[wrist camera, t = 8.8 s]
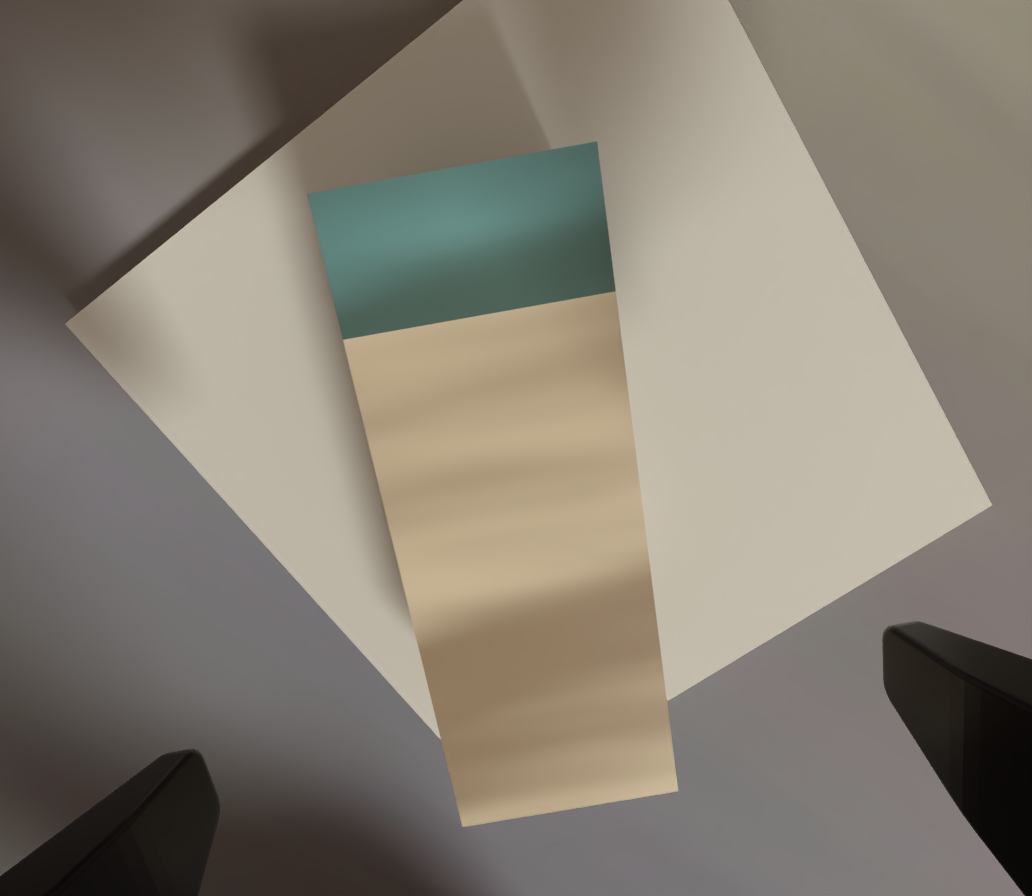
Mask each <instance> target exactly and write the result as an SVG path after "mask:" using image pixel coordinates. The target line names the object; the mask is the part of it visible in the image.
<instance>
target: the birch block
mask: <svg viewBox="0 0 1032 896" xmlns="http://www.w3.org/2000/svg"><path fill="white" fill-rule="evenodd" d="M307 196H308V200H309V204H310V208H311V212H312V216H313V220H314V224H315V228H316V232H317V236H318V240H319V244H320V249H321V253H322V257H323V261H324V265H325V269H326V273H327V277H328V281H329V285H330V289H331V293H332V297H333V301H334V306H335V310H336V314H337V318H338V322H339V326H340V330H341V334H342V338H343V342H344V346H345V350H346V354H347V358H348V363H349V367H350V371H351V375H352V379H353V383H354V387H355V391H356V395H357V399H358V403H359V407H360V411H361V415H362V420H363V424H364V428H365V432H366V436H367V440H368V444H369V448H370V452H371V456H372V460H373V464H374V468H375V472H376V477H377V481H378V485H379V489H380V493H381V497H382V501H383V505H384V509H385V513H386V517H387V521H388V525H389V529H390V534H391V538H392V542H393V546H394V550H395V554H396V558H397V562H398V566H399V570H400V574H401V578H402V582H403V586H404V591H405V595H406V599H407V603H408V607H409V611H410V615H411V619H412V623H413V627H414V631H415V635H416V639H417V643H418V648H419V652H420V656H421V660H422V664H423V668H424V672H425V676H426V680H427V684H428V688H429V692H430V696H431V700H432V705H433V709H434V713H435V717H436V721H437V725H438V729H439V733H440V737H441V741H442V745H443V749H444V753H445V757H446V762H447V766H448V770H449V774H450V778H451V782H452V786H453V790H454V794H455V798H456V802H457V806H458V810H459V814H460V819H461V823H462V827H466V826H472V825H478V824H484V823H490V822H496V821H502V820H508V819H514V818H520V817H526V816H532V815H538V814H544V813H550V812H556V811H562V810H568V809H574V808H580V807H586V806H592V805H598V804H604V803H610V802H616V801H622V800H628V799H634V798H640V797H646V796H652V795H658V794H664V793H670V792H676V791H678V786H677V778H676V770H675V762H674V754H673V746H672V738H671V730H670V722H669V714H668V706H667V698H666V690H665V682H664V674H663V666H662V658H661V650H660V642H659V634H658V626H657V618H656V610H655V602H654V594H653V586H652V578H651V570H650V562H649V554H648V546H647V538H646V529H645V521H644V513H643V505H642V497H641V489H640V481H639V473H638V465H637V457H636V449H635V441H634V433H633V425H632V417H631V409H630V401H629V393H628V385H627V377H626V369H625V361H624V353H623V345H622V337H621V329H620V321H619V313H618V305H617V297H616V289H615V281H614V273H613V265H612V257H611V249H610V241H609V233H608V225H607V217H606V209H605V200H604V192H603V184H602V176H601V168H600V160H599V152H598V144H597V141H596V142H591V143H585V144H580V145H574V146H569V147H563V148H558V149H552V150H546V151H541V152H535V153H530V154H524V155H519V156H513V157H508V158H502V159H497V160H491V161H486V162H480V163H475V164H469V165H464V166H458V167H453V168H447V169H442V170H436V171H431V172H425V173H420V174H414V175H409V176H403V177H398V178H392V179H387V180H381V181H376V182H370V183H365V184H359V185H353V186H348V187H342V188H337V189H331V190H326V191H320V192H315V193H309V194H307Z"/></svg>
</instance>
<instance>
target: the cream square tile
mask: <svg viewBox="0 0 1032 896" xmlns="http://www.w3.org/2000/svg"><path fill="white" fill-rule="evenodd" d="M596 141H597V144H598V152H599V160H600V168H601V176H602V184H603V192H604V200H605V209H606V217H607V225H608V233H609V241H610V249H611V257H612V265H613V273H614V281H615V289H616V297H617V305H618V313H619V321H620V329H621V337H622V345H623V353H624V361H625V369H626V377H627V385H628V393H629V401H630V409H631V417H632V425H633V433H634V441H635V449H636V457H637V465H638V473H639V481H640V489H641V497H642V505H643V513H644V521H645V529H646V538H647V546H648V554H649V562H650V570H651V578H652V586H653V594H654V602H655V610H656V618H657V626H658V634H659V642H660V650H661V658H662V666H663V674H664V682H665V690H666V698H667V701H668V700H670V699H672V698H673V697H675V696H677V695H678V694H680V693H682V692H683V691H685V690H687V689H688V688H690V687H691V686H693V685H695V684H696V683H698V682H700V681H701V680H703V679H705V678H706V677H708V676H710V675H711V674H713V673H715V672H716V671H718V670H720V669H721V668H723V667H725V666H726V665H728V664H730V663H731V662H733V661H735V660H736V659H738V658H740V657H741V656H743V655H745V654H746V653H748V652H750V651H751V650H753V649H755V648H756V647H758V646H760V645H761V644H763V643H764V642H766V641H768V640H769V639H771V638H773V637H774V636H776V635H778V634H779V633H781V632H783V631H784V630H786V629H788V628H789V627H791V626H793V625H794V624H796V623H798V622H799V621H801V620H803V619H804V618H806V617H808V616H809V615H811V614H813V613H814V612H816V611H818V610H819V609H821V608H823V607H824V606H826V605H828V604H829V603H831V602H832V601H834V600H836V599H837V598H839V597H841V596H842V595H844V594H846V593H847V592H849V591H851V590H852V589H854V588H856V587H857V586H859V585H861V584H862V583H864V582H866V581H867V580H869V579H871V578H872V577H874V576H876V575H877V574H879V573H881V572H882V571H884V570H886V569H887V568H889V567H891V566H892V565H894V564H896V563H897V562H899V561H900V560H902V559H904V558H905V557H907V556H909V555H910V554H912V553H914V552H915V551H917V550H919V549H920V548H922V547H924V546H925V545H927V544H929V543H930V542H932V541H934V540H935V539H937V538H939V537H940V536H942V535H944V534H945V533H947V532H949V531H950V530H952V529H954V528H955V527H957V526H959V525H960V524H962V523H964V522H965V521H967V520H968V519H970V518H972V517H973V516H975V515H977V514H978V513H980V512H982V511H983V510H985V509H987V508H988V507H990V506H992V504H991V502H990V500H989V498H988V496H987V494H986V492H985V491H984V489H983V487H982V485H981V483H980V481H979V479H978V477H977V475H976V473H975V471H974V470H973V468H972V466H971V464H970V462H969V460H968V458H967V456H966V454H965V452H964V450H963V448H962V447H961V445H960V443H959V441H958V439H957V437H956V435H955V433H954V431H953V429H952V427H951V425H950V424H949V422H948V420H947V418H946V416H945V414H944V412H943V410H942V408H941V406H940V404H939V403H938V401H937V399H936V397H935V395H934V393H933V391H932V389H931V387H930V385H929V383H928V381H927V380H926V378H925V376H924V374H923V372H922V370H921V368H920V366H919V364H918V362H917V360H916V358H915V357H914V355H913V353H912V351H911V349H910V347H909V345H908V343H907V341H906V339H905V337H904V335H903V334H902V332H901V330H900V328H899V326H898V324H897V322H896V320H895V318H894V316H893V314H892V313H891V311H890V309H889V307H888V305H887V303H886V301H885V299H884V297H883V295H882V293H881V291H880V290H879V288H878V286H877V284H876V282H875V280H874V278H873V276H872V274H871V272H870V270H869V268H868V267H867V265H866V263H865V261H864V259H863V257H862V255H861V253H860V251H859V249H858V247H857V246H856V244H855V242H854V240H853V238H852V236H851V234H850V232H849V230H848V228H847V226H846V224H845V223H844V221H843V219H842V217H841V215H840V213H839V211H838V209H837V207H836V205H835V203H834V201H833V200H832V198H831V196H830V194H829V192H828V190H827V188H826V186H825V184H824V182H823V180H822V179H821V177H820V175H819V173H818V171H817V169H816V167H815V165H814V163H813V161H812V159H811V157H810V156H809V154H808V152H807V150H806V148H805V146H804V144H803V142H802V140H801V138H800V136H799V134H798V133H797V131H796V129H795V127H794V125H793V123H792V121H791V119H790V117H789V115H788V113H787V111H786V110H785V108H784V106H783V104H782V102H781V100H780V98H779V96H778V94H777V92H776V90H775V89H774V87H773V85H772V83H771V81H770V79H769V77H768V75H767V73H766V71H765V69H764V67H763V66H762V64H761V62H760V60H759V58H758V56H757V54H756V52H755V50H754V48H753V46H752V44H751V43H750V41H749V39H748V37H747V35H746V33H745V31H744V29H743V27H742V25H741V23H740V22H739V20H738V18H737V16H736V14H735V12H734V10H733V8H732V6H731V4H730V2H729V0H463V1H461V2H460V3H459V4H458V5H456V6H455V7H454V8H453V9H452V10H450V11H449V12H448V13H447V14H445V15H444V16H443V17H442V18H440V19H439V20H438V21H437V22H436V23H434V24H433V25H432V26H431V27H429V28H428V29H427V30H426V31H424V32H423V33H422V34H421V35H420V36H418V37H417V38H416V39H415V40H413V41H412V42H411V43H410V44H408V45H407V46H406V47H405V48H404V49H402V50H401V51H400V52H399V53H397V54H396V55H395V56H394V57H392V58H391V59H390V60H389V61H388V62H386V63H385V64H384V65H383V66H381V67H380V68H379V69H378V70H377V71H375V72H374V73H373V74H372V75H370V76H369V77H368V78H367V79H365V80H364V81H363V82H362V83H361V84H359V85H358V86H357V87H356V88H354V89H353V90H352V91H351V92H349V93H348V94H347V95H346V96H345V97H343V98H342V99H341V100H340V101H338V102H337V103H336V104H335V105H333V106H332V107H331V108H330V109H329V110H327V111H326V112H325V113H324V114H322V115H321V116H320V117H319V118H317V119H316V120H315V121H314V122H313V123H311V124H310V125H309V126H308V127H306V128H305V129H304V130H303V131H301V132H300V133H299V134H298V135H297V136H295V137H294V138H293V139H292V140H290V141H289V142H288V143H287V144H285V145H284V146H283V147H282V148H281V149H279V150H278V151H277V152H276V153H274V154H273V155H272V156H271V157H269V158H268V159H267V160H266V161H265V162H263V163H262V164H261V165H260V166H258V167H257V168H256V169H255V170H254V171H252V172H251V173H250V174H249V175H247V176H246V177H245V178H244V179H242V180H241V181H240V182H239V183H238V184H236V185H235V186H234V187H233V188H231V189H230V190H229V191H228V192H226V193H225V194H224V195H223V196H222V197H220V198H219V199H218V200H217V201H215V202H214V203H213V204H212V205H210V206H209V207H208V208H207V209H206V210H204V211H203V212H202V213H201V214H199V215H198V216H197V217H196V218H194V219H193V220H192V221H191V222H190V223H188V224H187V225H186V226H185V227H183V228H182V229H181V230H180V231H178V232H177V233H176V234H175V235H174V236H172V237H171V238H170V239H169V240H167V241H166V242H165V243H164V244H162V245H161V246H160V247H159V248H158V249H156V250H155V251H154V252H153V253H151V254H150V255H149V256H148V257H146V258H145V259H144V260H143V261H142V262H140V263H139V264H138V265H137V266H135V267H134V268H133V269H132V270H131V271H129V272H128V273H127V274H126V275H124V276H123V277H122V278H121V279H119V280H118V281H117V282H116V283H115V284H113V285H112V286H111V287H110V288H108V289H107V290H106V291H105V292H103V293H102V294H101V295H100V296H99V297H97V298H96V299H95V300H94V301H92V302H91V303H90V304H89V305H87V306H86V307H85V308H84V309H83V310H81V311H80V312H79V313H78V314H76V315H75V316H74V317H73V318H71V319H70V320H69V321H68V322H67V323H65V325H66V326H67V327H68V328H69V329H70V330H71V331H72V332H73V334H74V335H75V336H76V337H77V338H78V339H79V340H80V341H81V342H82V343H83V345H84V346H85V347H86V348H87V349H88V350H89V351H90V352H91V353H92V355H93V356H94V357H95V358H96V359H97V360H98V361H99V362H100V363H101V364H102V366H103V367H104V368H105V369H106V370H107V371H108V372H109V373H110V374H111V376H112V377H113V378H114V379H115V380H116V381H117V382H118V383H119V384H120V386H121V387H122V388H123V389H124V390H125V391H126V392H127V393H128V394H129V395H130V397H131V398H132V399H133V400H134V401H135V402H136V403H137V404H138V405H139V407H140V408H141V409H142V410H143V411H144V412H145V413H146V414H147V415H148V416H149V418H150V419H151V420H152V421H153V422H154V423H155V424H156V425H157V426H158V428H159V429H160V430H161V431H162V432H163V433H164V434H165V435H166V436H167V437H168V439H169V440H170V441H171V442H172V443H173V444H174V445H175V446H176V447H177V449H178V450H179V451H180V452H181V453H182V454H183V455H184V456H185V457H186V459H187V460H188V461H189V462H190V463H191V464H192V465H193V466H194V467H195V468H196V470H197V471H198V472H199V473H200V474H201V475H202V476H203V477H204V478H205V480H206V481H207V482H208V483H209V484H210V485H211V486H212V487H213V488H214V489H215V491H216V492H217V493H218V494H219V495H220V496H221V497H222V498H223V499H224V501H225V502H226V503H227V504H228V505H229V506H230V507H231V508H232V509H233V510H234V512H235V513H236V514H237V515H238V516H239V517H240V518H241V519H242V520H243V522H244V523H245V524H246V525H247V526H248V527H249V528H250V529H251V530H252V532H253V533H254V534H255V535H256V536H257V537H258V538H259V539H260V540H261V541H262V543H263V544H264V545H265V546H266V547H267V548H268V549H269V550H270V551H271V553H272V554H273V555H274V556H275V557H276V558H277V559H278V560H279V561H280V562H281V564H282V565H283V566H284V567H285V568H286V569H287V570H288V571H289V572H290V574H291V575H292V576H293V577H294V578H295V579H296V580H297V581H298V582H299V584H300V585H301V586H302V587H303V588H304V589H305V590H306V591H307V592H308V593H309V595H310V596H311V597H312V598H313V599H314V600H315V601H316V602H317V603H318V605H319V606H320V607H321V608H322V609H323V610H324V611H325V612H326V613H327V614H328V616H329V617H330V618H331V619H332V620H333V621H334V622H335V623H336V624H337V626H338V627H339V628H340V629H341V630H342V631H343V632H344V633H345V634H346V635H347V637H348V638H349V639H350V640H351V641H352V642H353V643H354V644H355V645H356V647H357V648H358V649H359V650H360V651H361V652H362V653H363V654H364V655H365V657H366V658H367V659H368V660H369V661H370V662H371V663H372V664H373V665H374V666H375V668H376V669H377V670H378V671H379V672H380V673H381V674H382V675H383V676H384V678H385V679H386V680H387V681H388V682H389V683H390V684H391V685H392V686H393V687H394V689H395V690H396V691H397V692H398V693H399V694H400V695H401V696H402V697H403V699H404V700H405V701H406V702H407V703H408V704H409V705H410V706H411V707H412V709H413V710H414V711H415V712H416V713H417V714H418V715H419V716H420V717H421V718H422V720H423V721H424V722H425V723H426V724H427V725H428V726H429V727H430V728H431V730H432V731H433V732H434V733H435V734H436V735H437V736H438V737H439V738H440V739H441V737H440V733H439V729H438V725H437V721H436V717H435V713H434V709H433V705H432V700H431V696H430V692H429V688H428V684H427V680H426V676H425V672H424V668H423V664H422V660H421V656H420V652H419V648H418V643H417V639H416V635H415V631H414V627H413V623H412V619H411V615H410V611H409V607H408V603H407V599H406V595H405V591H404V586H403V582H402V578H401V574H400V570H399V566H398V562H397V558H396V554H395V550H394V546H393V542H392V538H391V534H390V529H389V525H388V521H387V517H386V513H385V509H384V505H383V501H382V497H381V493H380V489H379V485H378V481H377V477H376V472H375V468H374V464H373V460H372V456H371V452H370V448H369V444H368V440H367V436H366V432H365V428H364V424H363V420H362V415H361V411H360V407H359V403H358V399H357V395H356V391H355V387H354V383H353V379H352V375H351V371H350V367H349V363H348V358H347V354H346V350H345V346H344V342H343V338H342V334H341V330H340V326H339V322H338V318H337V314H336V310H335V306H334V301H333V297H332V293H331V289H330V285H329V281H328V277H327V273H326V269H325V265H324V261H323V257H322V253H321V249H320V244H319V240H318V236H317V232H316V228H315V224H314V220H313V216H312V212H311V208H310V204H309V200H308V196H307V194H309V193H315V192H320V191H326V190H331V189H337V188H342V187H348V186H353V185H359V184H365V183H370V182H376V181H381V180H387V179H392V178H398V177H403V176H409V175H414V174H420V173H425V172H431V171H436V170H442V169H447V168H453V167H458V166H464V165H469V164H475V163H480V162H486V161H491V160H497V159H502V158H508V157H513V156H519V155H524V154H530V153H535V152H541V151H546V150H552V149H558V148H563V147H569V146H574V145H580V144H585V143H591V142H596Z"/></svg>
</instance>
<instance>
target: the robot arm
mask: <svg viewBox="0 0 1032 896" xmlns="http://www.w3.org/2000/svg"><path fill="white" fill-rule="evenodd" d="M882 643H883V680H884V686H885V690H886V693H887V695H888V697H889V699H890V701H891V703H892V704H893V706H894V708H895V709H896V711H897V712H898V714H899V716H900V717H901V719H902V720H903V722H904V723H905V725H906V727H907V728H908V730H909V731H910V733H911V735H912V736H913V738H914V739H915V741H916V742H917V744H918V746H919V747H920V749H921V750H922V752H923V754H924V755H925V757H926V758H927V760H928V761H929V763H930V765H931V766H932V768H933V769H934V771H935V772H936V774H937V776H938V777H939V779H940V780H941V782H942V784H943V785H944V787H945V788H946V790H947V791H948V793H949V795H950V796H951V798H952V799H953V801H954V802H955V804H956V805H957V807H958V808H959V810H960V811H961V813H962V814H963V815H964V817H965V818H966V819H967V821H968V822H969V823H970V825H971V826H972V827H973V829H974V830H975V832H976V833H977V834H978V836H979V837H980V838H981V839H982V841H983V842H984V843H985V845H986V846H987V847H988V848H989V850H990V851H991V852H992V854H993V855H994V856H995V858H996V859H997V860H998V861H999V863H1000V864H1001V865H1002V867H1003V868H1004V869H1005V871H1006V872H1007V873H1008V874H1009V876H1010V877H1011V878H1012V880H1013V881H1014V882H1015V883H1016V885H1017V886H1018V887H1019V889H1020V890H1021V891H1022V893H1023V894H1024V895H1025V896H1032V659H1029V658H1026V657H1023V656H1020V655H1017V654H1014V653H1011V652H1009V651H1006V650H1003V649H1000V648H997V647H994V646H991V645H988V644H985V643H982V642H979V641H976V640H973V639H970V638H967V637H965V636H962V635H959V634H956V633H953V632H950V631H947V630H944V629H941V628H938V627H935V626H932V625H929V624H926V623H923V622H920V621H913V622H907V623H901V624H896V625H890V626H888V627H887V628H886V629H885V630H884V632H883V638H882ZM219 812H220V803H219V798H218V794H217V792H216V789H215V786H214V784H213V781H212V779H211V776H210V773H209V771H208V768H207V766H206V763H205V760H204V758H203V756H202V754H201V753H200V752H199V751H197V750H195V749H188V750H182V751H177V752H171V753H167V754H164V755H162V756H160V757H159V758H158V759H156V760H155V761H154V762H152V763H151V764H150V765H148V766H147V767H146V768H144V769H143V770H142V771H140V772H139V773H138V774H136V775H135V776H134V777H132V778H131V779H130V780H128V781H127V782H126V783H124V784H123V785H122V786H120V787H119V788H118V789H116V790H115V791H114V792H112V793H111V794H110V795H108V796H107V797H105V798H104V799H103V800H101V801H100V802H99V803H97V804H96V805H95V806H93V807H92V808H91V809H89V810H88V811H87V812H85V813H84V814H83V815H81V816H80V817H79V818H77V819H76V820H75V821H73V822H72V823H71V824H69V825H68V826H67V827H65V828H64V829H63V830H61V831H60V832H59V833H57V834H56V835H55V836H53V837H52V838H51V839H49V840H48V841H47V842H45V843H44V844H43V845H41V846H40V847H39V848H37V849H36V850H35V851H33V852H32V853H31V854H29V855H28V856H27V857H25V858H24V859H23V860H21V861H20V862H19V863H17V864H16V865H15V866H13V867H12V868H11V869H9V870H8V871H7V872H5V873H4V874H3V875H1V876H0V896H198V893H199V889H200V886H201V882H202V878H203V875H204V871H205V867H206V863H207V860H208V856H209V852H210V849H211V845H212V841H213V838H214V834H215V830H216V827H217V823H218V819H219Z"/></svg>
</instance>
